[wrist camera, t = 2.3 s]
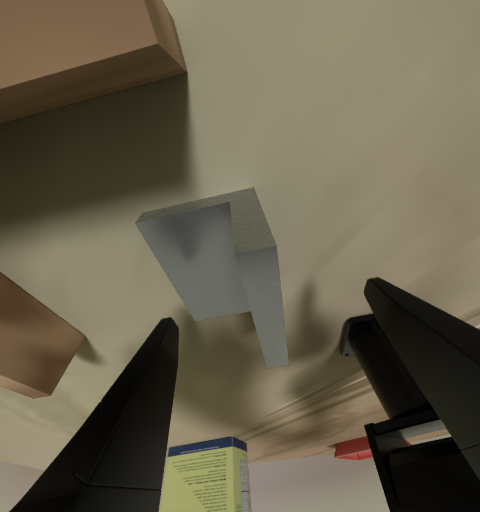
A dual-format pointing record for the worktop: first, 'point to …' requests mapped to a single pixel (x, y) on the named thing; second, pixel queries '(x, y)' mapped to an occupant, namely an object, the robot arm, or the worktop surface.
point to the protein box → (207, 478)
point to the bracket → (222, 263)
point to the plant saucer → (355, 449)
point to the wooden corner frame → (55, 96)
